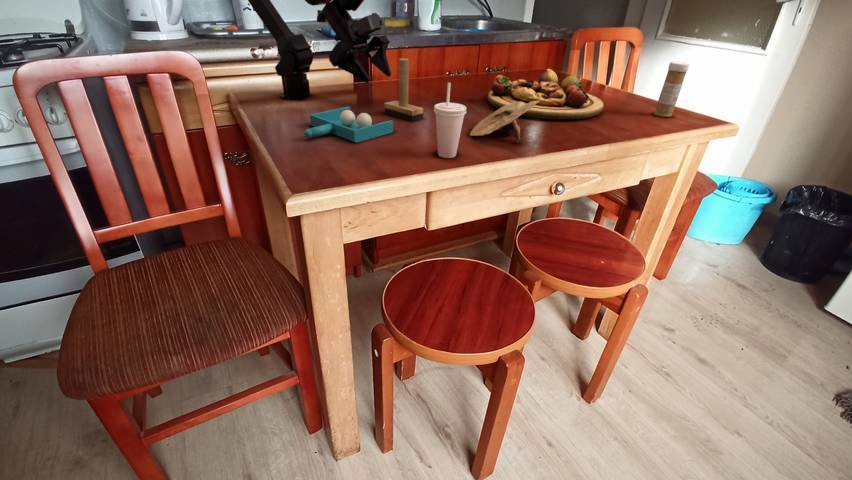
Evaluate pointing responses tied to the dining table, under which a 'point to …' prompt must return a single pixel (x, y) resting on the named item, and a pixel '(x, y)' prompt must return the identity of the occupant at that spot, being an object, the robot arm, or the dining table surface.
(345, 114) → the beige rounded piece
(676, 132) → the dining table surface
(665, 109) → the sprinkles bottle
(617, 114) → the dining table surface
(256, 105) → the dining table surface
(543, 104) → the wooden plate
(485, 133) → the tan wooden pointed piece
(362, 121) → the cream oval piece
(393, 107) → the brush
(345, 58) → the robot arm
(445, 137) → the smoothie
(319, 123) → the dustpan
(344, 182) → the dining table surface
